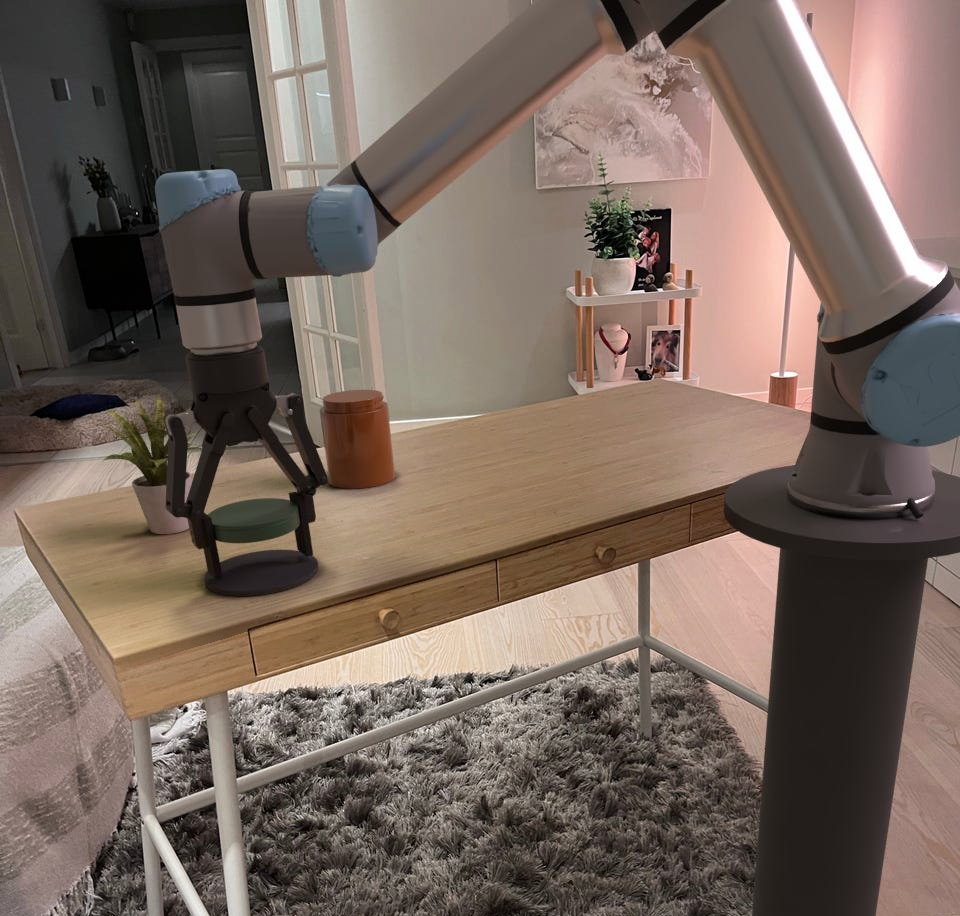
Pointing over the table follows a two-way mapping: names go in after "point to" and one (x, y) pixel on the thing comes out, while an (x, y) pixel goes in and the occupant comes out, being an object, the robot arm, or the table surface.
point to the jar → (357, 439)
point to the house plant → (152, 469)
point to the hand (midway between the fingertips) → (261, 563)
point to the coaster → (263, 573)
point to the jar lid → (254, 520)
